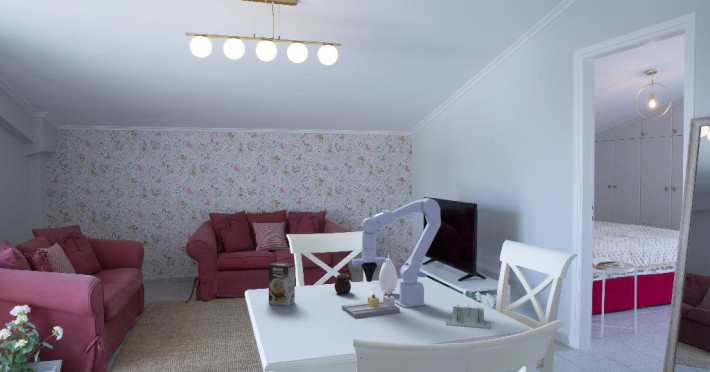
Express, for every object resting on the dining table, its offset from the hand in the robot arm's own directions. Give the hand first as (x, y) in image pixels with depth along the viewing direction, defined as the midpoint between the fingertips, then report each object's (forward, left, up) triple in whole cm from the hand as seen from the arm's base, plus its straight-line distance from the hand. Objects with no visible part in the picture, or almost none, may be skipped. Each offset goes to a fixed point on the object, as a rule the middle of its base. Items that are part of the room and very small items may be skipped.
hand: (368, 281), depth 194 cm
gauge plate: (+3, +8, -9) cm, 13 cm away
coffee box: (+32, -15, -10) cm, 37 cm away
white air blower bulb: (-15, -12, -10) cm, 21 cm away
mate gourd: (+3, -20, -10) cm, 22 cm away
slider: (+2, +8, -7) cm, 11 cm away
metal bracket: (-24, +33, -10) cm, 42 cm away
